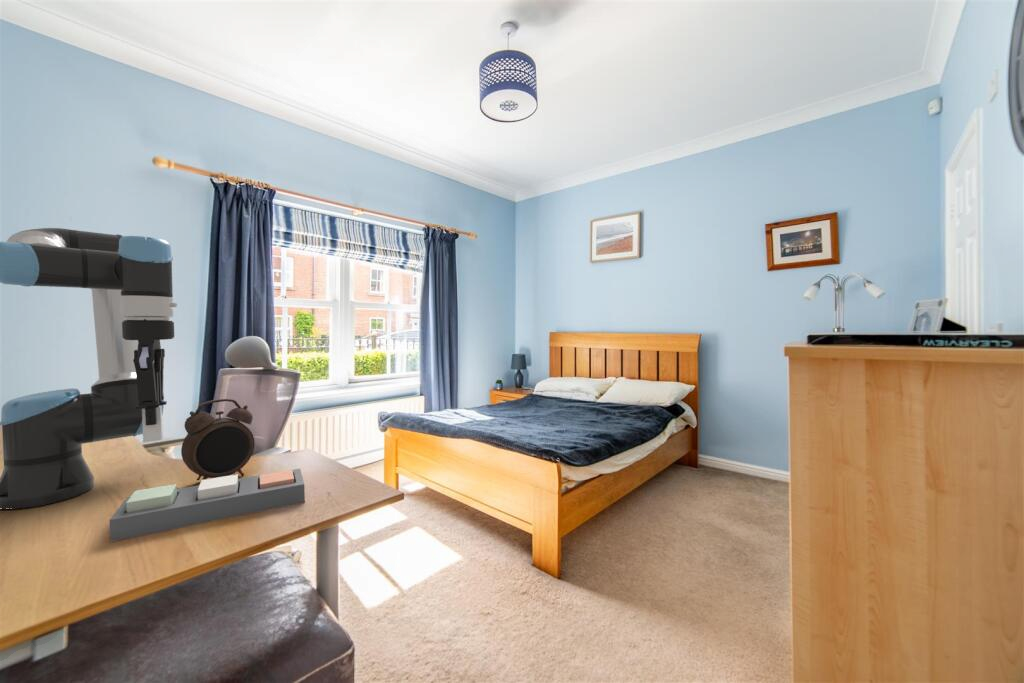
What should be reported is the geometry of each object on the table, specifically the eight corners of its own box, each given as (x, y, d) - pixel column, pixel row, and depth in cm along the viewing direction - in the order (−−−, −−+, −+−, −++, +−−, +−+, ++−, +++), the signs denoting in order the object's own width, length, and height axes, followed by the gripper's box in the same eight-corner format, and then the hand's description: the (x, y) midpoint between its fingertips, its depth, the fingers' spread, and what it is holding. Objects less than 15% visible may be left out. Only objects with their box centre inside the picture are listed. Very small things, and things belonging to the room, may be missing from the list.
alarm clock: (190, 492, 94) (187, 406, 94) (180, 485, 99) (177, 402, 98) (259, 474, 106) (257, 397, 105) (248, 468, 110) (246, 394, 110)
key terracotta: (260, 488, 92) (259, 475, 92) (292, 482, 96) (292, 469, 96) (260, 498, 87) (259, 484, 87) (294, 491, 90) (294, 478, 90)
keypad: (127, 516, 83) (126, 497, 82) (300, 484, 99) (300, 468, 99) (110, 541, 73) (109, 519, 73) (304, 502, 89) (304, 484, 89)
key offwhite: (202, 493, 87) (201, 480, 87) (238, 487, 90) (237, 474, 90) (198, 505, 81) (197, 490, 81) (236, 498, 85) (236, 483, 85)
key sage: (136, 505, 81) (135, 490, 81) (177, 498, 85) (176, 484, 85) (127, 518, 76) (126, 502, 76) (171, 510, 79) (170, 495, 79)
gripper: (167, 319, 75) (172, 445, 76) (178, 319, 86) (182, 430, 88) (111, 318, 71) (117, 452, 72) (131, 319, 82) (135, 435, 84)
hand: (153, 440), depth 80 cm, fingers closed
